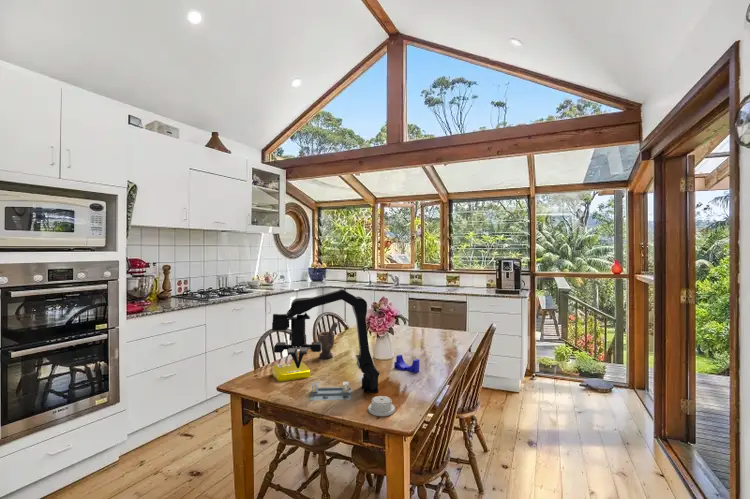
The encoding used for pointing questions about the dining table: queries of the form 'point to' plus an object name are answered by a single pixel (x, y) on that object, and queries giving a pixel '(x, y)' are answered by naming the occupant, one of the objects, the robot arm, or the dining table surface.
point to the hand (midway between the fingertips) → (298, 367)
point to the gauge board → (333, 393)
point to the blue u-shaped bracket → (403, 366)
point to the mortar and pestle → (327, 342)
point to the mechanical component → (381, 406)
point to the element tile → (290, 372)
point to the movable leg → (315, 387)
